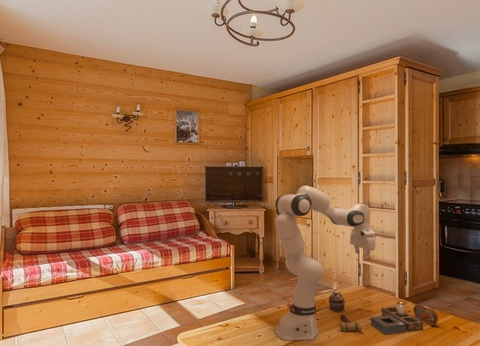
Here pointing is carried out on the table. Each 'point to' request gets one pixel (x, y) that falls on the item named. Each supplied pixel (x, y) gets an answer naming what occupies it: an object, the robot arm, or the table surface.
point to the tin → (425, 314)
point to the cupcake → (336, 302)
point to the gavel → (349, 325)
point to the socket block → (388, 324)
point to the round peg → (401, 308)
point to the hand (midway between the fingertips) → (362, 255)
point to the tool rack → (404, 319)
